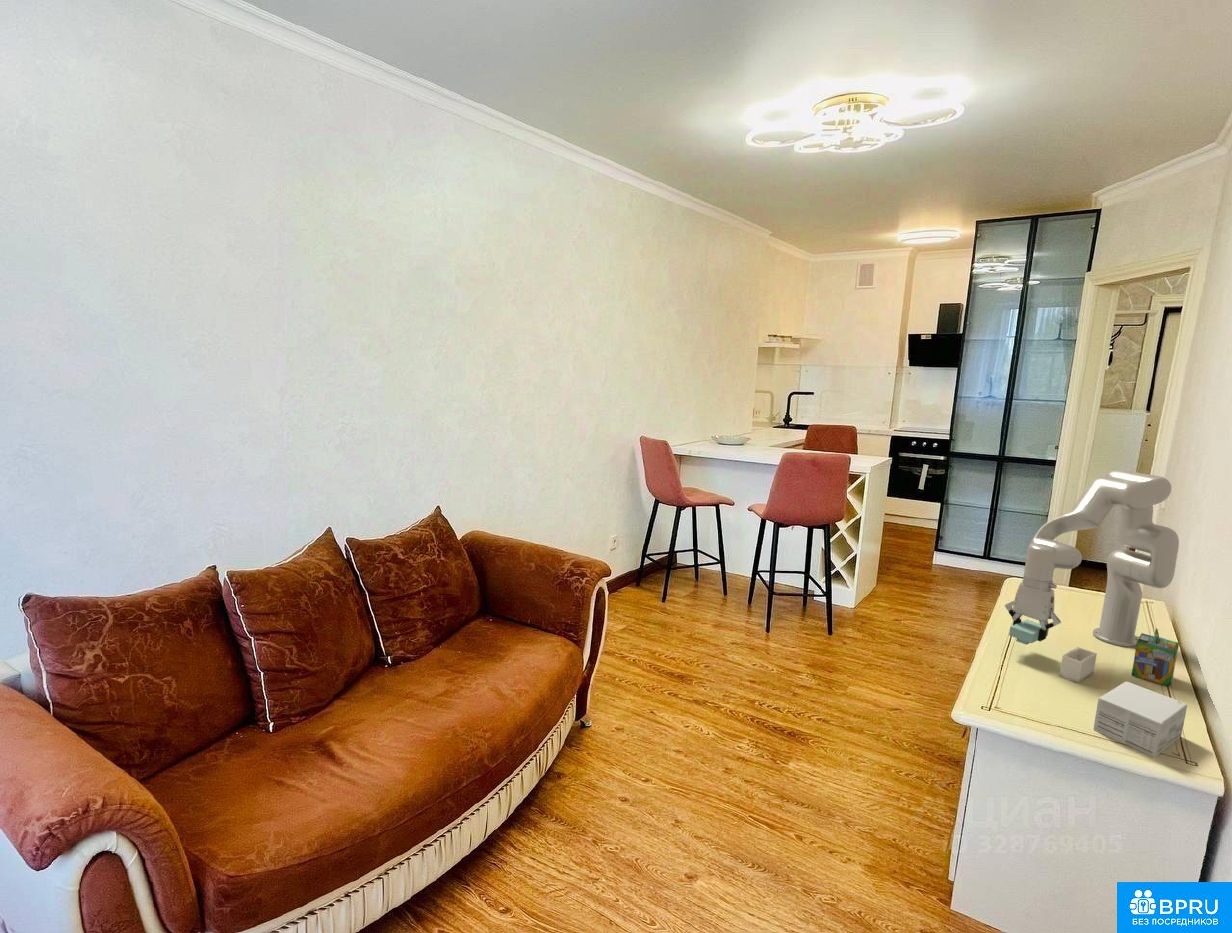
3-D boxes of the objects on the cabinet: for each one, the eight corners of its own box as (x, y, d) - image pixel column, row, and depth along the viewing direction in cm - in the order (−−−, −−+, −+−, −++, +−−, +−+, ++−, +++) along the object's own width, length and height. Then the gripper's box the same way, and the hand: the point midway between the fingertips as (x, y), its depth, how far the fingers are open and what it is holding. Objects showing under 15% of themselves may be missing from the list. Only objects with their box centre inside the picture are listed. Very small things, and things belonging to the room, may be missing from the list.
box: (1074, 666, 192) (1077, 647, 191) (1093, 673, 188) (1096, 653, 187) (1059, 675, 186) (1062, 655, 185) (1078, 683, 182) (1082, 662, 181)
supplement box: (1119, 711, 168) (1125, 680, 166) (1181, 737, 157) (1188, 704, 155) (1091, 729, 159) (1097, 696, 158) (1155, 758, 148) (1162, 723, 146)
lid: (1024, 632, 203) (1026, 619, 203) (1046, 639, 198) (1049, 626, 197) (1008, 639, 197) (1010, 626, 196) (1030, 647, 192) (1033, 634, 191)
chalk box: (1170, 688, 181) (1179, 641, 178) (1130, 675, 187) (1138, 630, 185) (1173, 677, 187) (1183, 632, 184) (1135, 666, 194) (1143, 622, 191)
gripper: (1073, 589, 189) (1064, 644, 192) (1012, 572, 203) (1005, 623, 206) (1063, 594, 185) (1054, 649, 188) (1001, 576, 199) (994, 628, 202)
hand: (1028, 635), depth 197 cm, fingers closed on lid, 6 cm apart
